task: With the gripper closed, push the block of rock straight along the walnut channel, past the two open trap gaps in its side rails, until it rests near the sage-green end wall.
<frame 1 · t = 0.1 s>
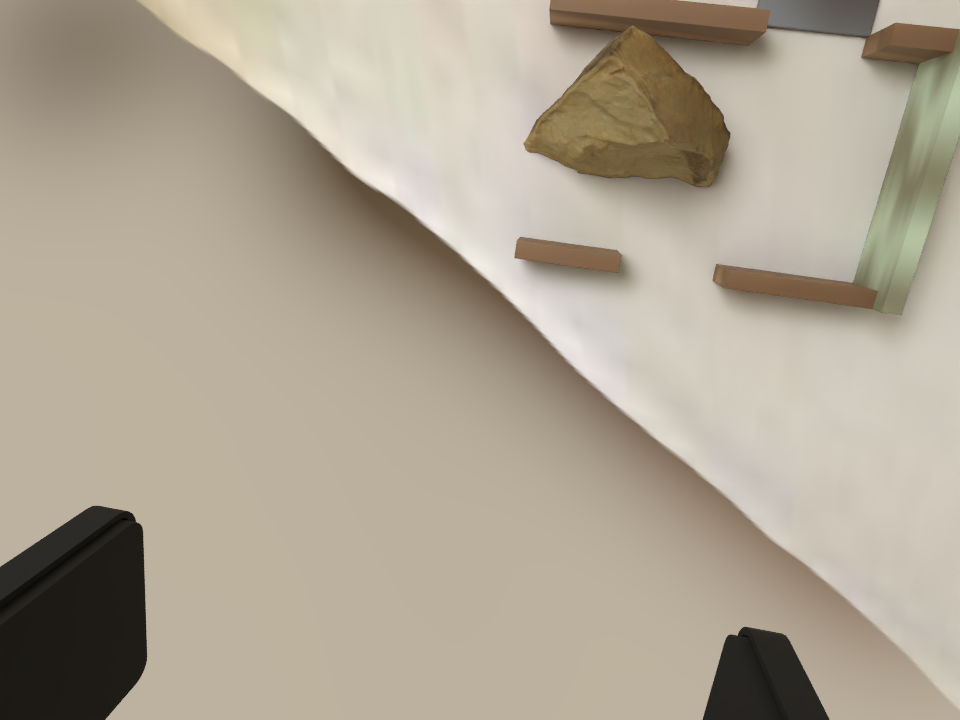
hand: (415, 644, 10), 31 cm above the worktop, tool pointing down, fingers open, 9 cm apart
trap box: (705, 156, 36), on the worktop
rock: (626, 147, 36), on the worktop
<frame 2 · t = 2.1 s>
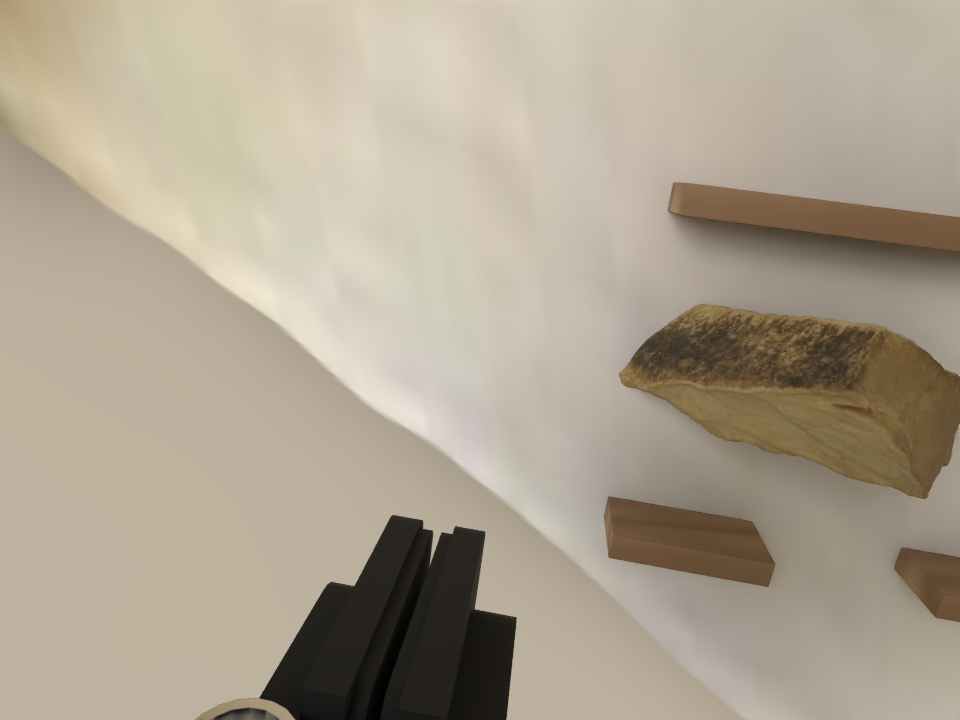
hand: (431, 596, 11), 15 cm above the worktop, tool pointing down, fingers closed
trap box: (898, 404, 24), on the worktop
rock: (775, 383, 24), on the worktop
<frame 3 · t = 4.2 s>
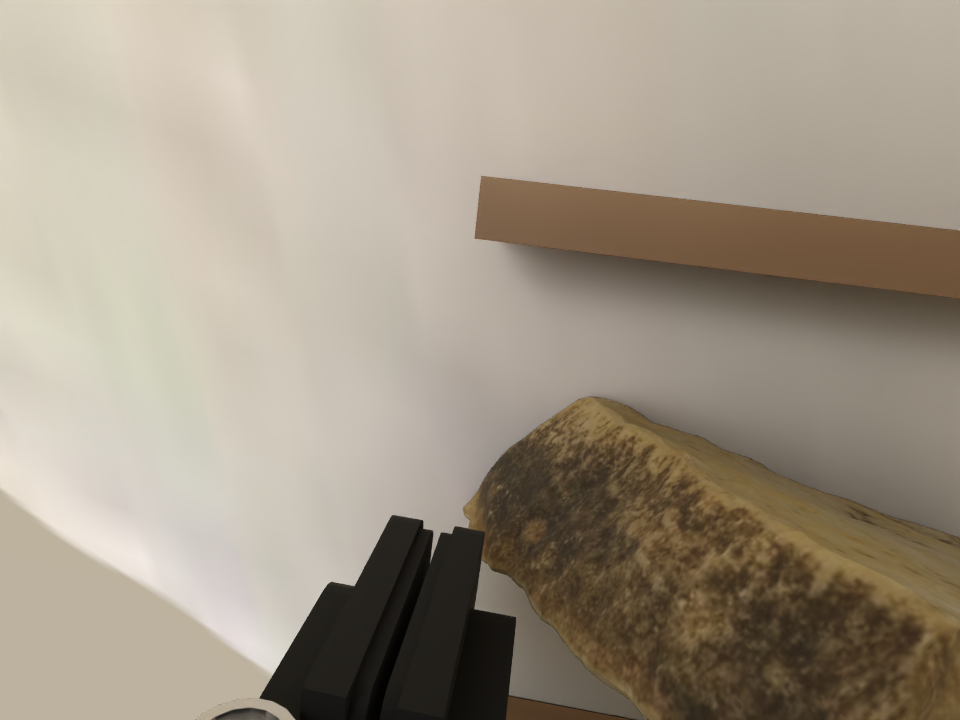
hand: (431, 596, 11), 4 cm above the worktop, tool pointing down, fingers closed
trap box: (901, 551, 14), on the worktop
rock: (723, 521, 14), on the worktop, touching gripper
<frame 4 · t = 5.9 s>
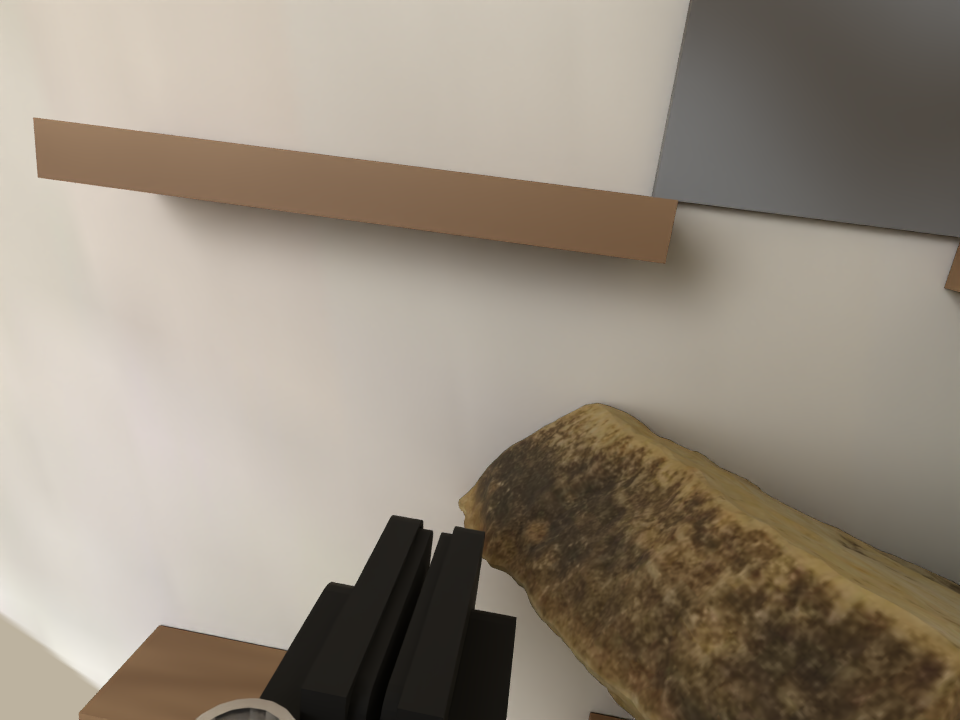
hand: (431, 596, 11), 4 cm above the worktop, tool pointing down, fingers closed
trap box: (549, 495, 15), on the worktop
rock: (712, 538, 15), on the worktop, touching gripper
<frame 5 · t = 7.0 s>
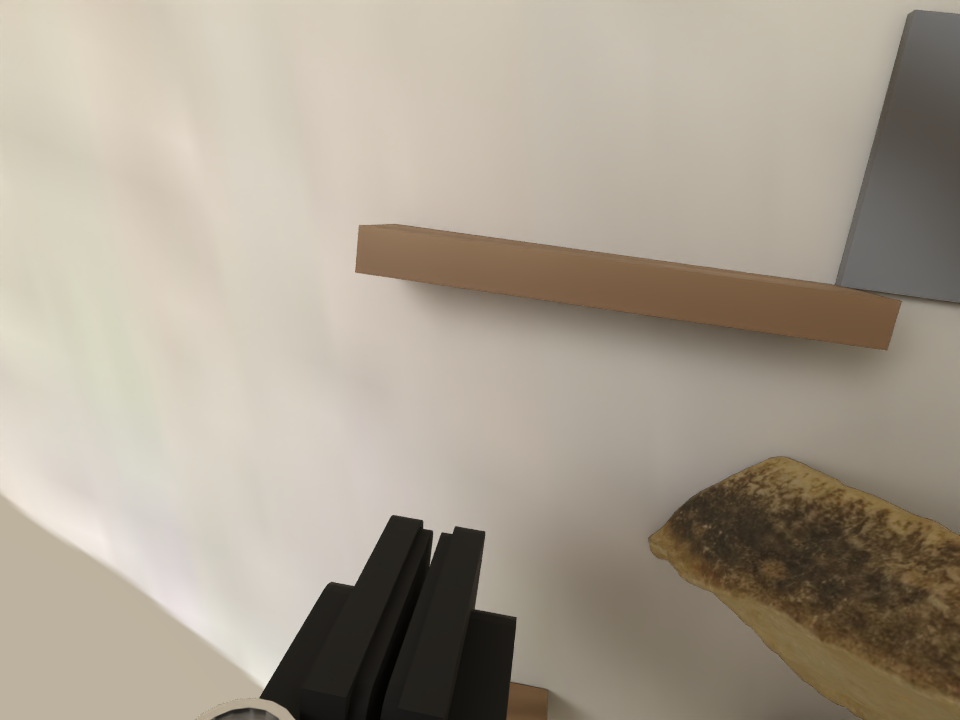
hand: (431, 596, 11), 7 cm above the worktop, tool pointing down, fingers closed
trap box: (728, 535, 17), on the worktop
rock: (871, 574, 17), on the worktop
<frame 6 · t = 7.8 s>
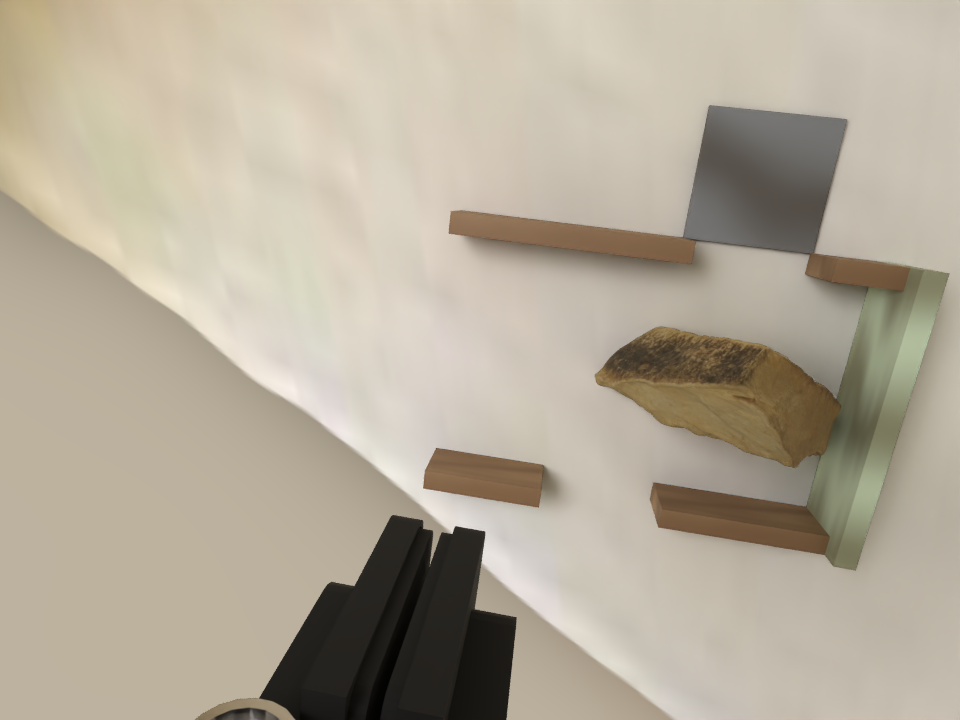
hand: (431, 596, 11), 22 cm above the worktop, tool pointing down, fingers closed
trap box: (636, 371, 32), on the worktop
rock: (712, 391, 32), on the worktop
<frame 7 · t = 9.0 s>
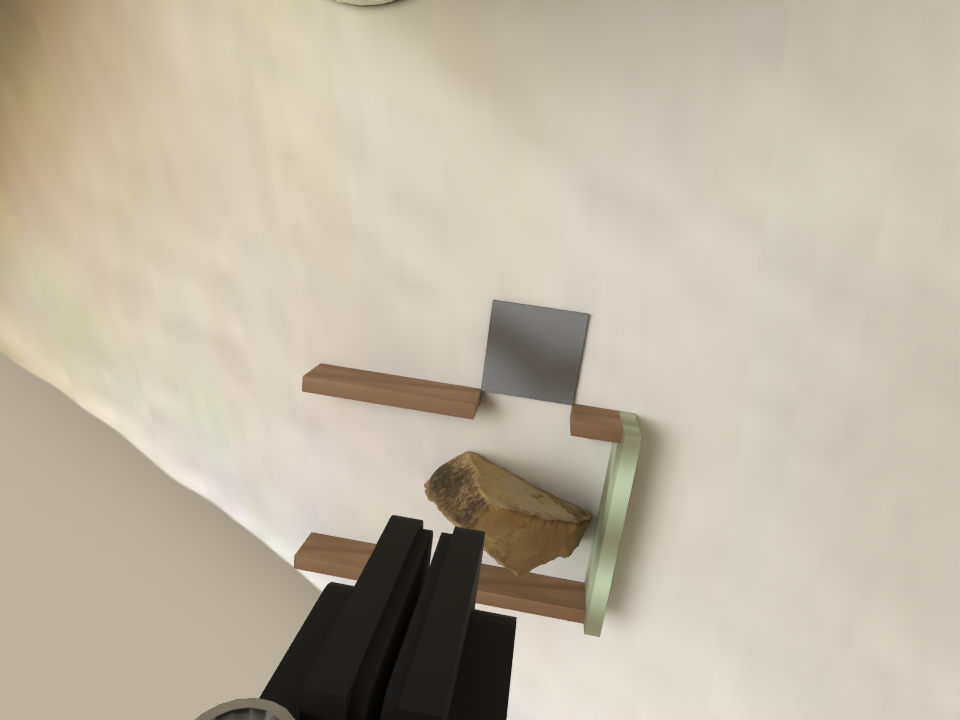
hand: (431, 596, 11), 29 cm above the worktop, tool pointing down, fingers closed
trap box: (454, 482, 42), on the worktop
rock: (511, 497, 43), on the worktop
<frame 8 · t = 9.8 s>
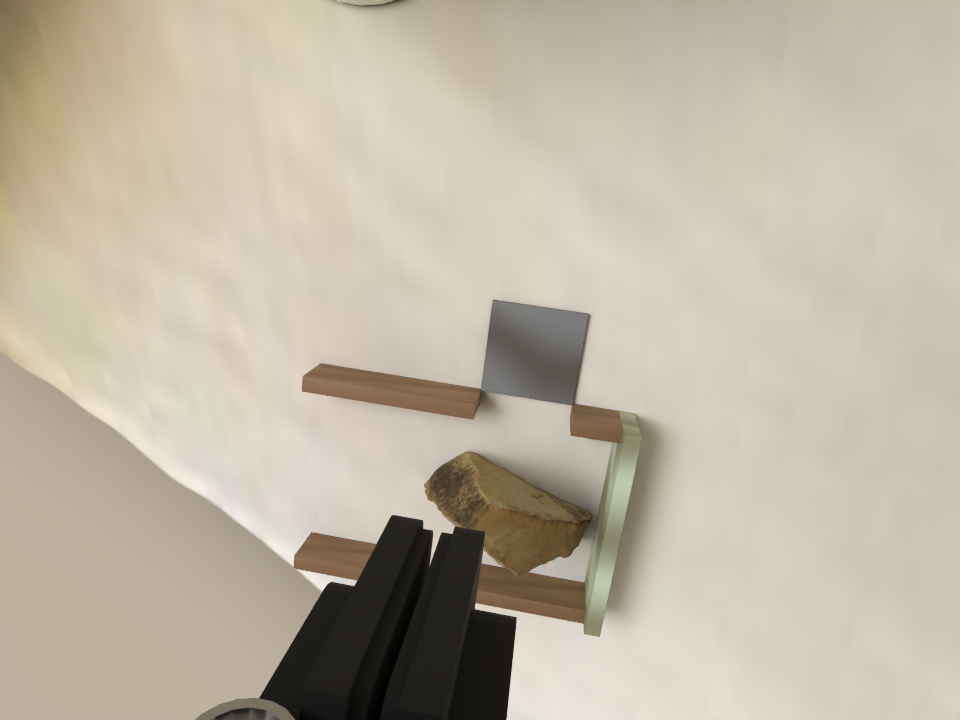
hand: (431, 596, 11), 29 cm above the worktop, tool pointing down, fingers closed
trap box: (454, 482, 42), on the worktop
rock: (511, 497, 43), on the worktop
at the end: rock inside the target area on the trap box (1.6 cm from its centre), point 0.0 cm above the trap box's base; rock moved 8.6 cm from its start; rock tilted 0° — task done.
